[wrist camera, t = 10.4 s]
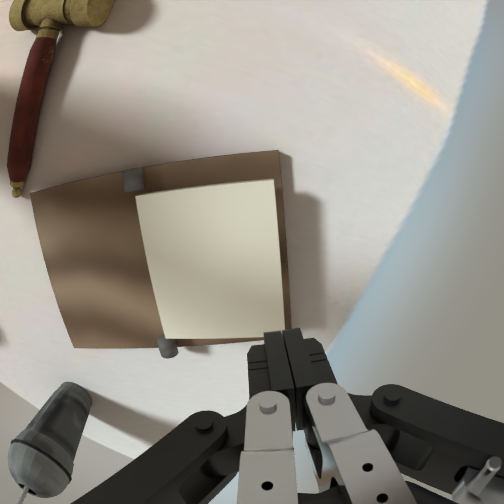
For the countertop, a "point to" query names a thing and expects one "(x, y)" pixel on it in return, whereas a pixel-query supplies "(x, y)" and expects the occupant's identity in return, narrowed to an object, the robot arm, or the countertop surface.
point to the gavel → (41, 68)
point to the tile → (214, 259)
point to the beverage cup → (50, 443)
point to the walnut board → (129, 248)
